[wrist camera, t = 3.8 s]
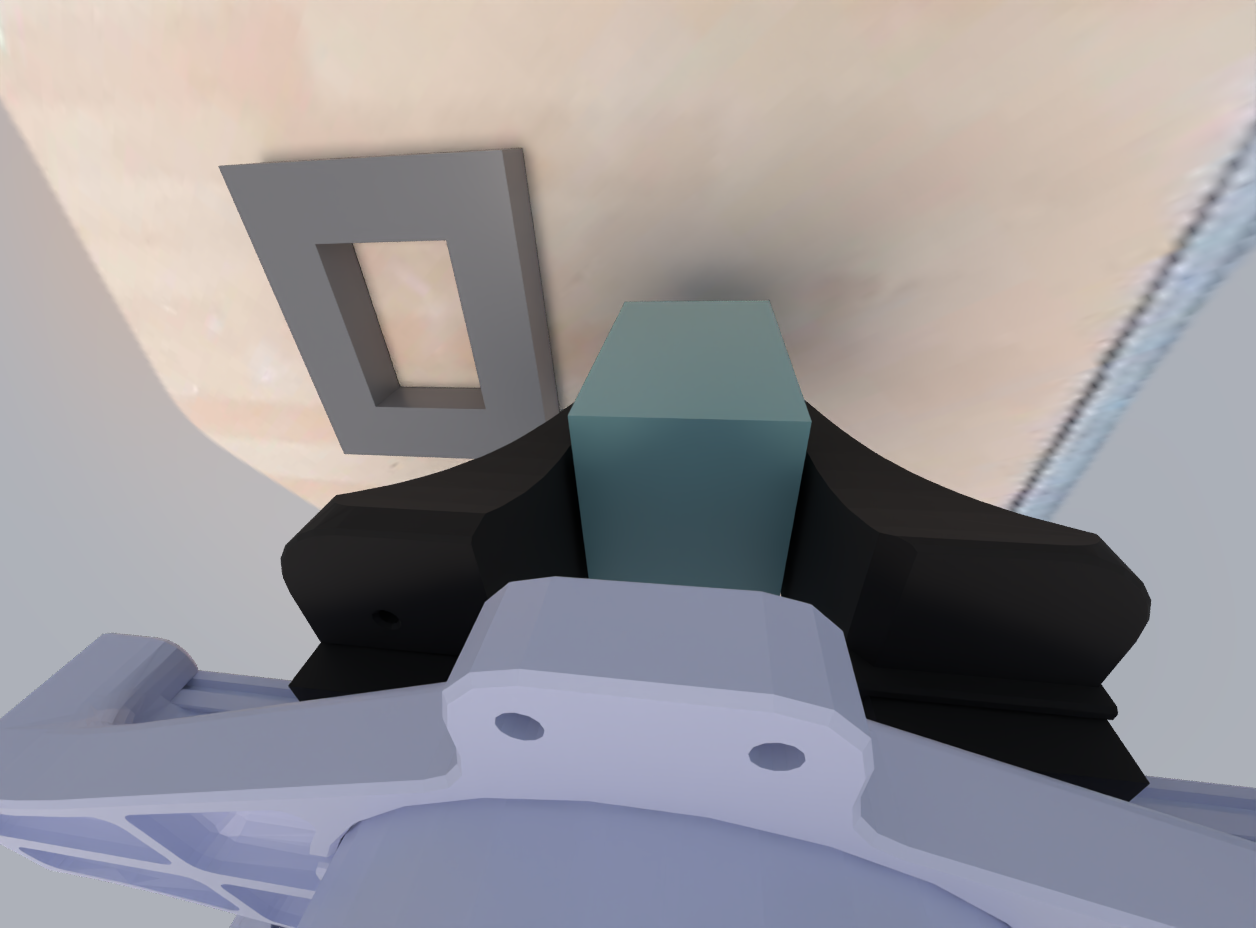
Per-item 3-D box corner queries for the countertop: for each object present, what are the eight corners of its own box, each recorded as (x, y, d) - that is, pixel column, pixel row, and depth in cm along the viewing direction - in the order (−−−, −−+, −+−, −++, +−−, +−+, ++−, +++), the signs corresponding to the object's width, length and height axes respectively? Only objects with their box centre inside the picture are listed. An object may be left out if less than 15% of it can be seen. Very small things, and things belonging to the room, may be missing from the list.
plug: (750, 472, 15) (770, 646, 10) (633, 467, 15) (595, 630, 10) (769, 300, 12) (811, 421, 7) (624, 302, 12) (567, 415, 7)
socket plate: (563, 438, 23) (552, 461, 22) (369, 432, 25) (344, 453, 23) (522, 147, 17) (501, 149, 15) (262, 162, 18) (218, 165, 17)
